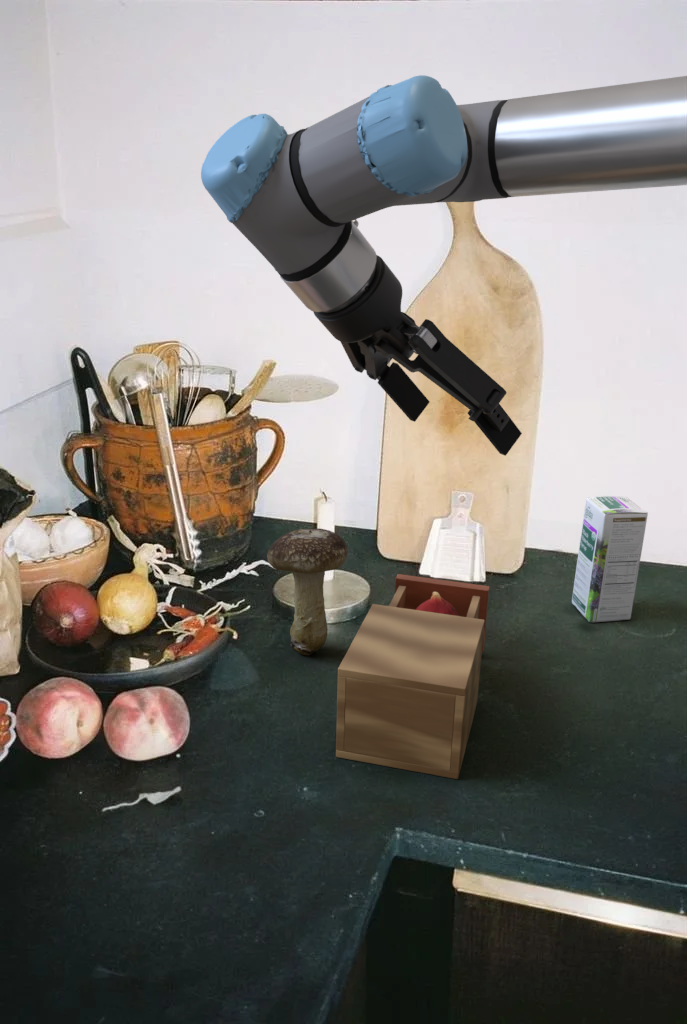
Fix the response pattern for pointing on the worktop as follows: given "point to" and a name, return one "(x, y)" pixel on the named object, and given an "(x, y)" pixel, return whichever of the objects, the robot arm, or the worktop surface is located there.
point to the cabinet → (409, 690)
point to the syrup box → (608, 558)
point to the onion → (437, 605)
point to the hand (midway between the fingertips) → (463, 426)
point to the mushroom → (308, 580)
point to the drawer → (443, 596)
